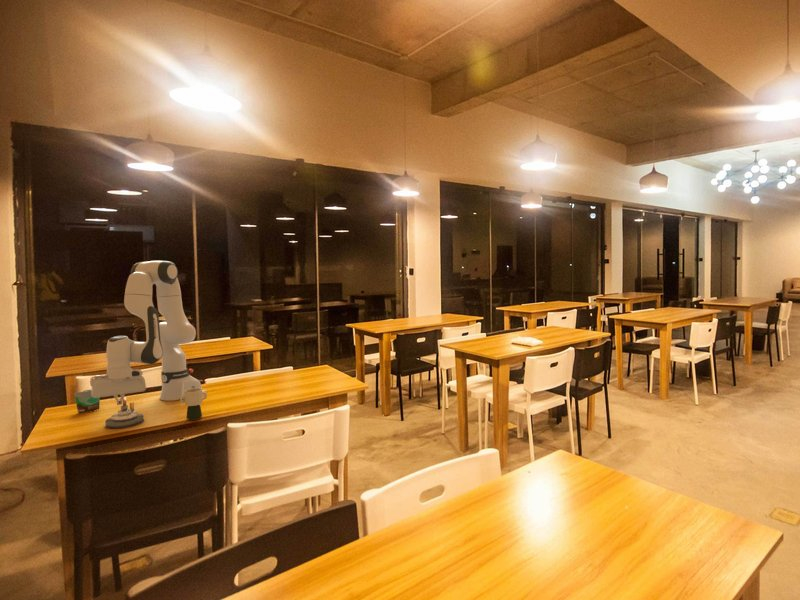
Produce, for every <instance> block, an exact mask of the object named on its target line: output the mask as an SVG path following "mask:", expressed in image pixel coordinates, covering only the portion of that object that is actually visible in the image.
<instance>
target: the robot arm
mask: <svg viewBox="0 0 800 600" xmlns="http://www.w3.org/2000/svg"><path fill="white" fill-rule="evenodd" d="M178 274H179V270H178V267H177V266H176V264H175V263H174V262H172V261H168V260H150V261H139V262H136V263H135V264H133V265H132V266H131V269H130V274H129V276H128V277H127V281H126V284H125V290H124V291H125V292H124V299H123V303H124V304H123V305H124V307H125V309H126V310H127V311H128V312H129V313H130V314H131V315H134V316H136V317H138V318H140V319H142V321H143V322H144V325H145V335H146V336H145V337H146V341H135V340H132V339H130V338H129V337H128V336H127V335H116V336H113V337H112V336H111V337H110V338H108V340H107V344H106V354H105V356H106V359H107V360H106V361H107V364H106V374H100V375H94V377H92V378H90V381H89V384H90V386H91V389H90V390H91V396H92V397H93V398H99V397H100V398H105V397H113V398H114V399H115V400H116V405H117V406H123V399H124V397H125V396H126V395H127V394H128V395H129V394H133V393H134V394H135V393H140V392H141V393H143V392H145V391H146V390H147V386H146V379H145V377H144V376H143V373H144V372H143V371H142V370H141V369H139V368H133V367H132V368H131V364H132V363H134V364H147V365H154V364H156V363H158V362H159V361H161V371H160V372H161V374H160V375H161V376H160V377H161V382H162V384H161V392H160V397H159V400H161V401H170V402H172V401H180V400H179V399H180V396H183V395H185V390H187V389H191V388H201V389H202V384H201V382H200V380H199V379H197V378H195V377H193V376H192V375H190V374H193V372H194V369H193V368H189V369H188V368H187V358H186V357H187V356H186V353H185V352H184V351H183V349H182V348H181V347H180V345H185V344H190V343H192V342H193V341H194V340H195V338H196V335H197V331H196V327H194V325H192V324H191V323H190V321H189V320H188V318H187V316H186V315H185V314H186V313H185V311H184V308H183V307H184V306H183V300H182V290H181V286H180V282H179V277H178ZM154 285H155V286H156V301H157V302H156V303H157V308H156V307H155V305H154V302H153V286H154ZM159 314H160V315H161V316H162V317H163V319H164V320H165V321H162V322H161V321H160V318H159ZM204 391H206V392H207V389H205V390H202V392H204ZM119 396H120V399H119ZM182 399H183V400H185V398H182Z"/></svg>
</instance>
